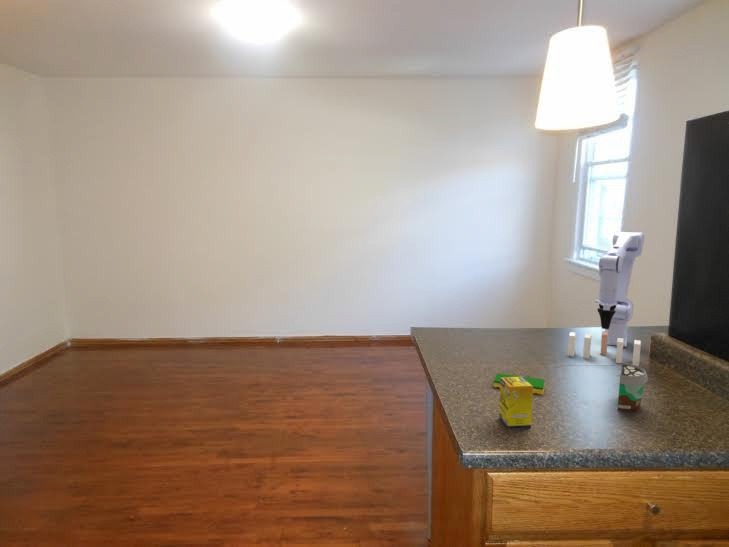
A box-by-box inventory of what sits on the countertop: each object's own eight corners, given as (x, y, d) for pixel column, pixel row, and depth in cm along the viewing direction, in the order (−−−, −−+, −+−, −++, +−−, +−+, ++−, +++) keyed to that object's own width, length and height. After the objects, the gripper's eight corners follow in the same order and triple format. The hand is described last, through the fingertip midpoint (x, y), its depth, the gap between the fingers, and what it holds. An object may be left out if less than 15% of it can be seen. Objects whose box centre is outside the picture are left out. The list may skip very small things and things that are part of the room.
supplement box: (498, 418, 115) (499, 377, 113) (521, 416, 115) (523, 376, 113) (507, 429, 109) (509, 386, 107) (531, 428, 109) (533, 385, 108)
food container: (644, 418, 114) (648, 380, 112) (617, 412, 117) (620, 375, 116) (645, 400, 124) (648, 365, 123) (619, 395, 127) (622, 361, 126)
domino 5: (632, 365, 151) (634, 343, 150) (632, 360, 155) (634, 339, 154) (638, 366, 150) (640, 344, 149) (638, 361, 154) (640, 340, 153)
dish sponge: (496, 380, 140) (497, 372, 140) (544, 387, 135) (544, 379, 134) (493, 388, 134) (493, 380, 134) (543, 396, 128) (543, 388, 128)
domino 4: (615, 362, 153) (617, 341, 152) (616, 358, 157) (617, 337, 156) (621, 363, 152) (623, 342, 151) (621, 359, 157) (623, 338, 155)
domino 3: (600, 354, 162) (601, 334, 161) (601, 350, 166) (602, 331, 165) (606, 355, 161) (607, 335, 160) (606, 351, 165) (608, 331, 164)
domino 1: (567, 355, 161) (568, 335, 160) (569, 351, 165) (570, 332, 164) (573, 356, 160) (574, 336, 159) (574, 352, 164) (576, 332, 163)
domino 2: (583, 358, 158) (584, 337, 157) (584, 353, 162) (585, 333, 161) (588, 358, 157) (590, 338, 156) (589, 354, 162) (591, 334, 160)
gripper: (596, 285, 168) (594, 320, 170) (594, 291, 156) (591, 329, 157) (618, 286, 165) (615, 323, 166) (618, 293, 152) (614, 332, 154)
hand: (605, 326), depth 162 cm, fingers open, 7 cm apart
